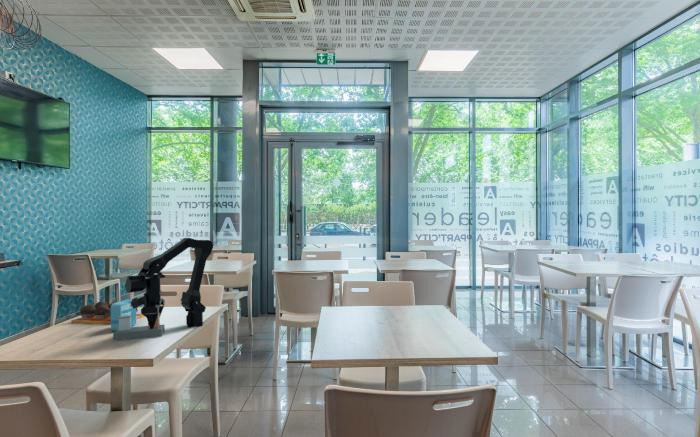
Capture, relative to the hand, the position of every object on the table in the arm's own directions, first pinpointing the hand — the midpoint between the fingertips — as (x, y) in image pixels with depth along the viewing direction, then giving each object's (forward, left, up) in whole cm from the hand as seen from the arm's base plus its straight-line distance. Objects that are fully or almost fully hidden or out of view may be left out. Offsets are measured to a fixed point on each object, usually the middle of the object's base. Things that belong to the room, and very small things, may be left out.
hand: (153, 326), depth 179 cm
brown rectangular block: (0, 0, -4) cm, 4 cm away
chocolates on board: (+27, -39, -4) cm, 47 cm away
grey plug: (+11, 0, -4) cm, 12 cm away
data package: (+16, -17, -4) cm, 23 cm away
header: (+6, 0, -4) cm, 7 cm away
